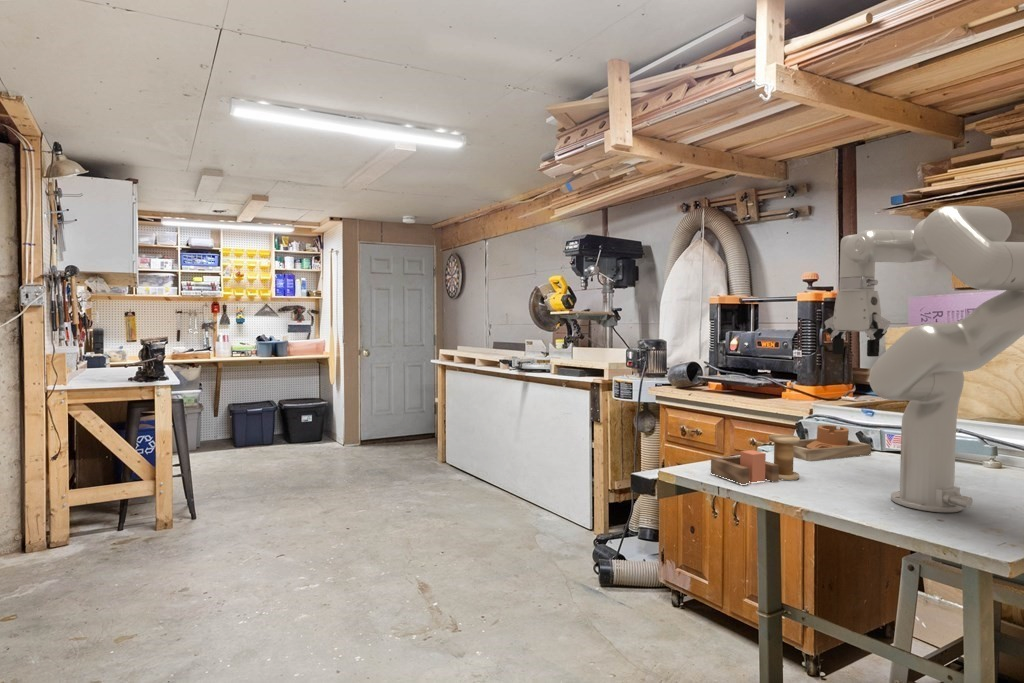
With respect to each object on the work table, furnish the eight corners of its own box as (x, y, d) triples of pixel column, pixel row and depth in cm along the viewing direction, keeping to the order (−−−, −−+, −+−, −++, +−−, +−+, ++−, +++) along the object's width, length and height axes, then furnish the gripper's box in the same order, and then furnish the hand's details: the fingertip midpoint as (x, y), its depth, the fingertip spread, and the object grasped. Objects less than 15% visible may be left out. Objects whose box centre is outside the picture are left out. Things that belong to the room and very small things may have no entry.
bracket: (820, 445, 189) (822, 423, 189) (850, 450, 184) (852, 428, 183) (801, 456, 176) (803, 433, 175) (833, 463, 171) (835, 438, 170)
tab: (765, 482, 146) (765, 453, 146) (752, 484, 145) (752, 454, 144) (752, 478, 150) (753, 450, 150) (739, 479, 148) (740, 451, 148)
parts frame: (870, 455, 177) (870, 444, 177) (809, 461, 169) (809, 450, 169) (834, 446, 189) (834, 437, 189) (775, 452, 180) (775, 442, 180)
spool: (805, 479, 149) (806, 438, 149) (783, 481, 147) (784, 440, 146) (783, 472, 156) (784, 433, 156) (761, 474, 153) (762, 435, 153)
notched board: (778, 481, 147) (778, 465, 147) (742, 485, 143) (742, 468, 143) (745, 470, 157) (745, 455, 157) (710, 474, 153) (711, 458, 153)
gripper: (901, 284, 143) (899, 357, 144) (837, 287, 159) (836, 353, 160) (878, 283, 141) (876, 357, 141) (816, 287, 157) (814, 353, 157)
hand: (854, 355), depth 151 cm, fingers open, 9 cm apart
